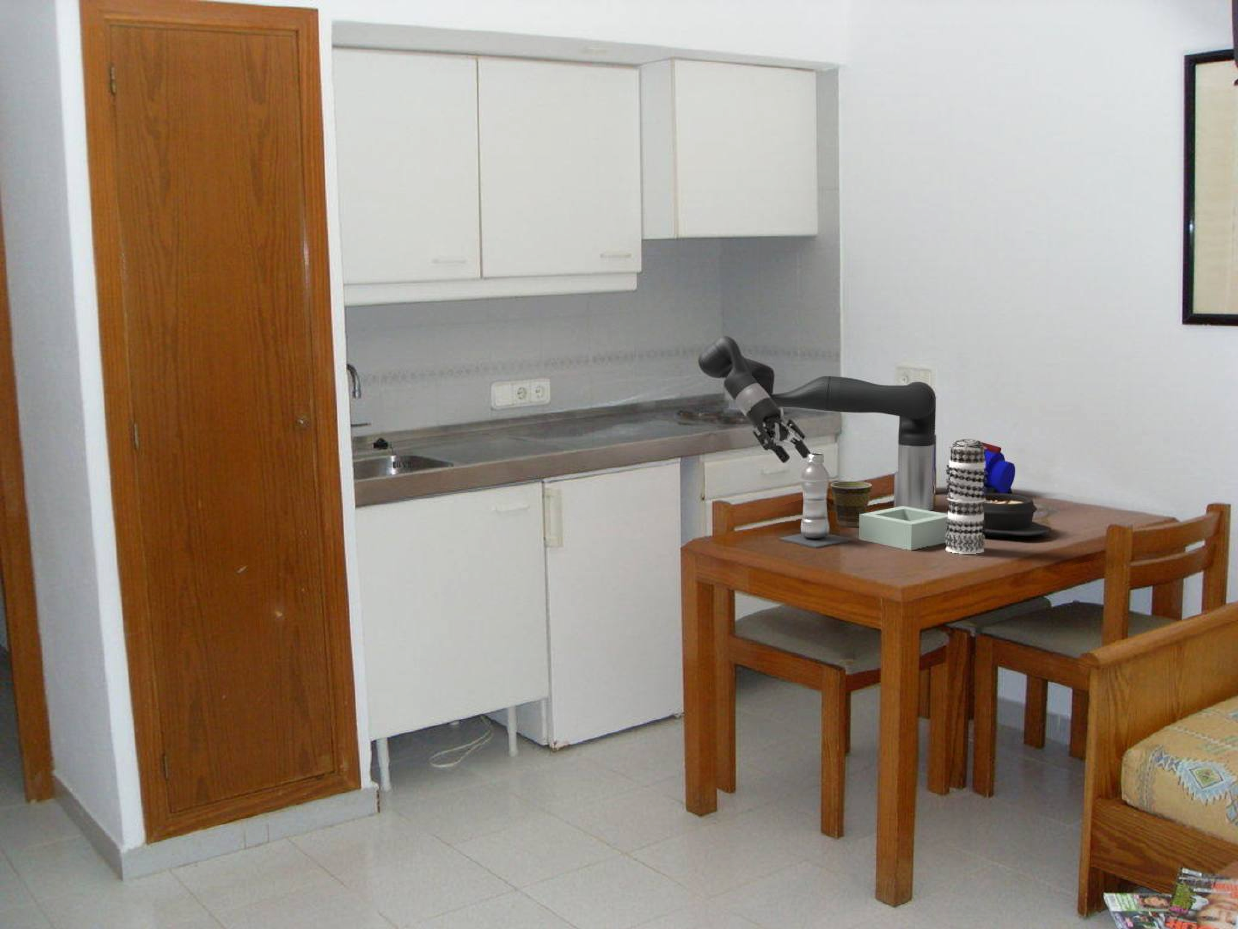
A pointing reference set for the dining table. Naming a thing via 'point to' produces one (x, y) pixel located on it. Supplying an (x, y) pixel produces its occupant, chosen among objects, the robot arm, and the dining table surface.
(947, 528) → the black and white cylinder
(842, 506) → the ceramic cup
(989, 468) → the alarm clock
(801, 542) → the rubber mat
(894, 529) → the holder block
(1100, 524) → the dining table surface
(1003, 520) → the casserole
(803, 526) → the plastic bottle
